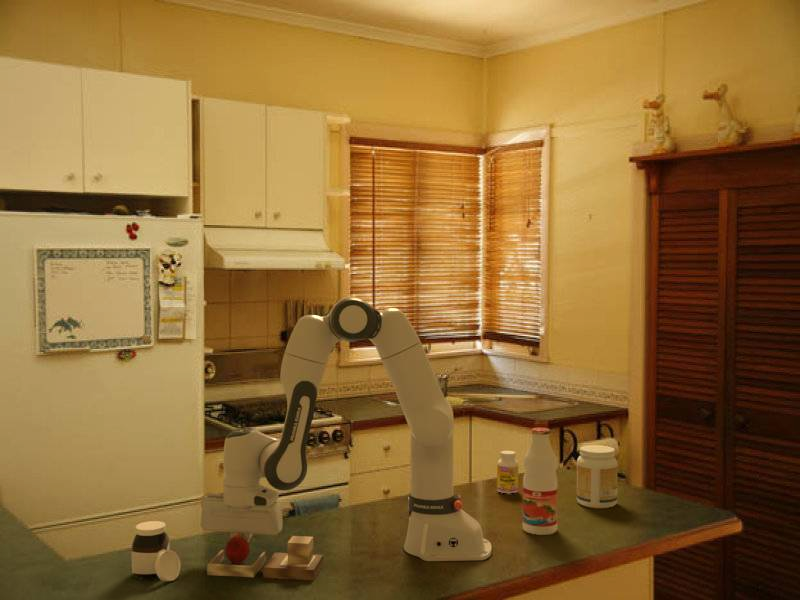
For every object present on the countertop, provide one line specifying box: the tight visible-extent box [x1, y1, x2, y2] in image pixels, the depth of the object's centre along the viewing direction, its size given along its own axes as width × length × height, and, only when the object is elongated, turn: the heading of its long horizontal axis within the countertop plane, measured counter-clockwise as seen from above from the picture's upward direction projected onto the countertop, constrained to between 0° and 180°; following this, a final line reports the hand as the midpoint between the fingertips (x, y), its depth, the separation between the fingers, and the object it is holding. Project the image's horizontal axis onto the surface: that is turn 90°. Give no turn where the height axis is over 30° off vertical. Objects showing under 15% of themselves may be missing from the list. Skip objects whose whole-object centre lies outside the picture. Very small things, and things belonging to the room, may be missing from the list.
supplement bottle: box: [496, 450, 519, 494], centre depth 270 cm, size 7×7×13 cm
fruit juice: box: [522, 427, 559, 536], centre depth 232 cm, size 9×9×28 cm
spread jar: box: [131, 520, 182, 582], centre depth 198 cm, size 12×11×12 cm
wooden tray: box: [206, 549, 324, 582], centre depth 202 cm, size 26×10×3 cm, turn 82°
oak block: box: [287, 535, 314, 565], centre depth 201 cm, size 5×5×5 cm
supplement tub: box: [576, 444, 619, 509], centre depth 257 cm, size 12×12×17 cm
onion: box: [224, 533, 251, 565], centre depth 205 cm, size 6×6×8 cm
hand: (241, 549), depth 209 cm, fingers closed, pressing on onion
